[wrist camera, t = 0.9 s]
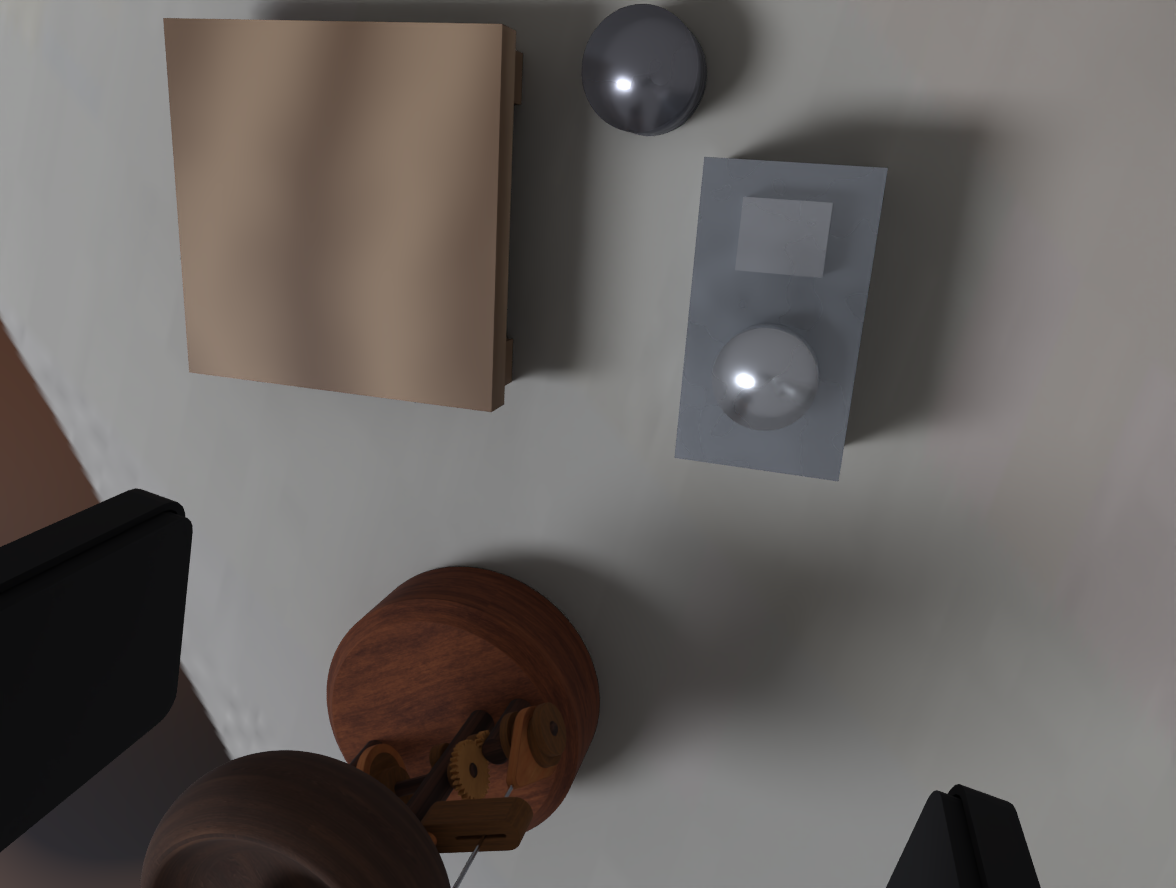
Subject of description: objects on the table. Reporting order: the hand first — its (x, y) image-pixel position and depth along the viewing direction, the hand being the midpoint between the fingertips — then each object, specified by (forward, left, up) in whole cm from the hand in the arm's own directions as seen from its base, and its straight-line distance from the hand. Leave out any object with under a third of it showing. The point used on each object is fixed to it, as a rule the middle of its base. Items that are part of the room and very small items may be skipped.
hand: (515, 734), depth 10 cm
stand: (+14, -5, -21) cm, 26 cm away
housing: (-1, -3, -22) cm, 22 cm away
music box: (+10, +14, -22) cm, 28 cm away
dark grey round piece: (+4, -10, -22) cm, 24 cm away
